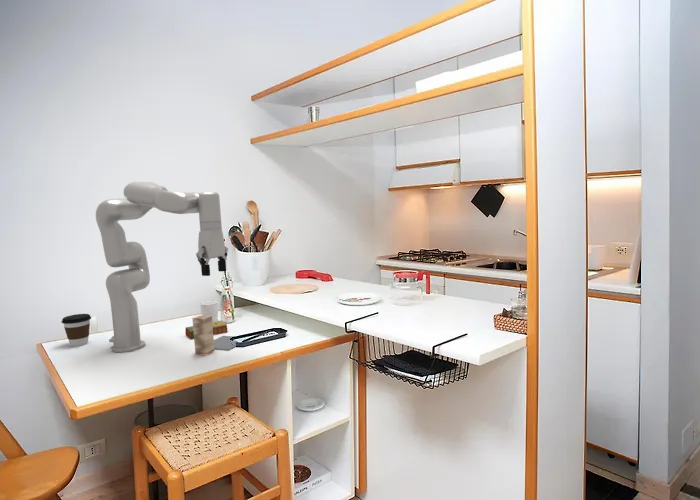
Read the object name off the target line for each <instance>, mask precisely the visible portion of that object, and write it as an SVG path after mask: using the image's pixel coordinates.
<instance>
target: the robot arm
mask: <svg viewBox="0 0 700 500" xmlns="http://www.w3.org/2000/svg"><path fill="white" fill-rule="evenodd" d="M123 196H124V198H110V199H106V200H103V201H102V202H100V203H98V205H97V206H96V210H95V221H96V224H97V227H98V229H99V232H100V237H101V242H102V247H103V253H104V258H105V262H106V264H107V265H108V266H109V267H110V268H121V267H123V268H124V267H127V266H128V269H127V268H125V269H121V270H117V271H114V272H111V273H110V274H109V275H107V277H106V280H105V287H106V291H107V294H108V297H109V302H110V311H111V317H112V327H113V328H112V329H113V335H112V336H111V338H110V339H108V342H109V343H112V346H111V347H110V350H111V352H115V353H127V352H132V351H136V350H139V349H142V348H144V347H146V341H144V340H141V329H140V319H139V310H138V302H137V299H136V298H135V297H134V295H133V292H138V291H142V290H144V289H146V288H147V287H148V286H149V284H150V281H151V277H150V269H149V264H148V259H147V254H146V250H145V248H144V247H143V244H141V243H139V242H137V241H127V237H126V232H125V230H124V228H123V227H122V225H121V224H120V223H119V221H134V220H139V219H140V218H142V217H144V216H145V215H146V214H148V213H149V212H150V211H151V210H152V209H157V210H158V211H161V212H165V213H170V214H176V215H187V214H198V220H199V232H198V245H197V249H198V251H197V252H196V253H195V256H196V259H197V261H198V263H199V266H200V270H201V276H202V277H206V276H207V277H209V276H211V268H210V264H209V262H210V260H211V259H216V258H217V270H218V272H227V257H228V252H229V247H227V246H226V245H225V237H224V233H223V228H222V215H221V214H222V212H221V201H220V195H219V193H218V192H216V191H209V192H208V191H205V192H176V191H169V190H168V189H167V187H165V186H163V185H158V184H157V183H155V182H151V181H133V182H130V183H128V184H126V185H125V186H124V188H123Z"/></svg>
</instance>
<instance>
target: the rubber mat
mask: <svg viewBox="0 0 700 500" xmlns="http://www.w3.org/2000/svg"><path fill="white" fill-rule="evenodd" d="M232 337H236V336H233V335H232V336H231V335H221V336H219V337H217V338H216V339H214V350H215V351H216V350H217V351H228V352H229V351H231V350H234V349H235V348H236V347H235V346H234V345H232V344H231V343H230V338H232Z"/></svg>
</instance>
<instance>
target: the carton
mask: <svg viewBox="0 0 700 500" xmlns="http://www.w3.org/2000/svg"><path fill="white" fill-rule="evenodd" d="M212 325H213V336H216V335H221V334H226V333H228V325H227V323H226V322H224V321H222V320H218V321H216V322H212ZM185 337H186V338H188V339H190V340H194V331H193V325H192V326H185Z"/></svg>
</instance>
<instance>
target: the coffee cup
mask: <svg viewBox="0 0 700 500" xmlns="http://www.w3.org/2000/svg"><path fill="white" fill-rule="evenodd" d="M90 320H92V316H91V315H90V314H88V313H78V314H71V315H68V316H67V315H66V316H65V317H62V319H61V322H60V323H61V324H63V326H64V327H63V328H64V330H65V334H66V337H67V340H68V343H69V345H70V347H82V346H85V345H88V342H89V336H90V329H91V328H90V327H91V325H90V324H91V323H90Z"/></svg>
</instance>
